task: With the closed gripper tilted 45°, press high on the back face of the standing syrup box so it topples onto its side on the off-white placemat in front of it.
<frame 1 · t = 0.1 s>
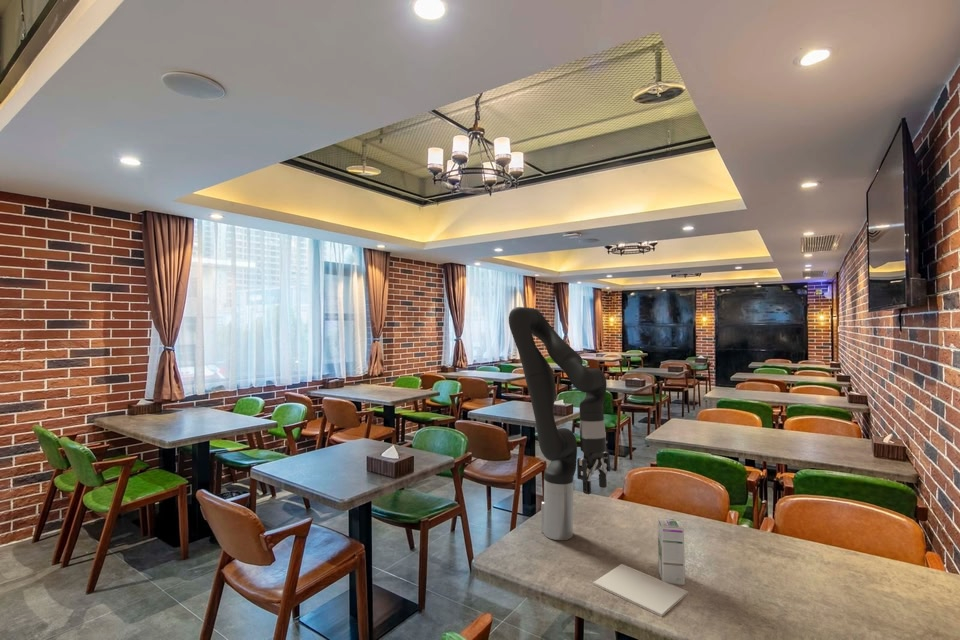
hand: (595, 490, 137), 17 cm above the table, tool pointing down, fingers open, 8 cm apart
syrup box: (670, 579, 121), on the table
placemat: (639, 589, 116), on the table
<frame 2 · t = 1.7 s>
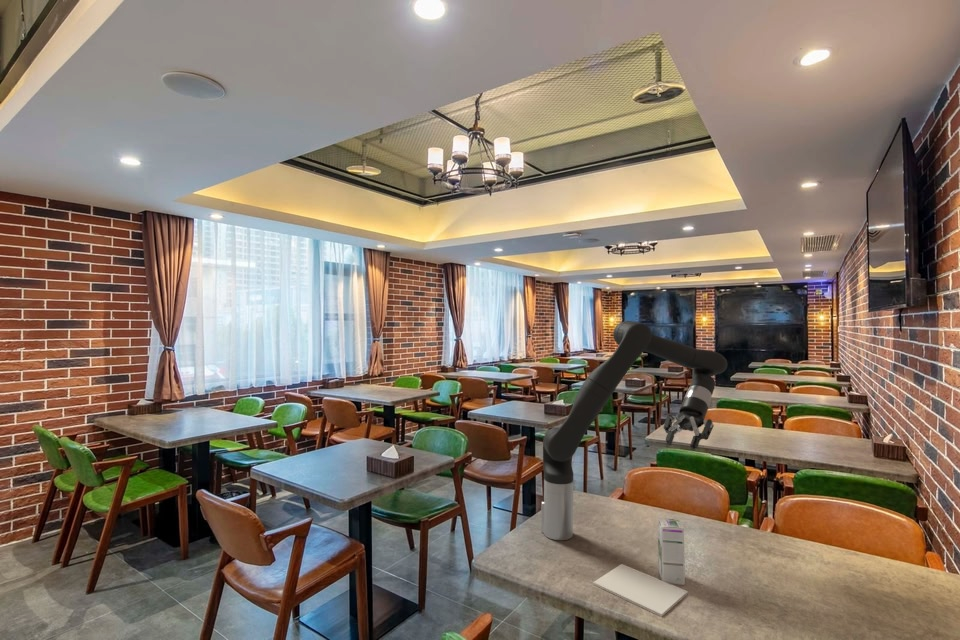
hand: (680, 445, 139), 31 cm above the table, tool tilted 45°, fingers open, 6 cm apart
nothing on the table moved.
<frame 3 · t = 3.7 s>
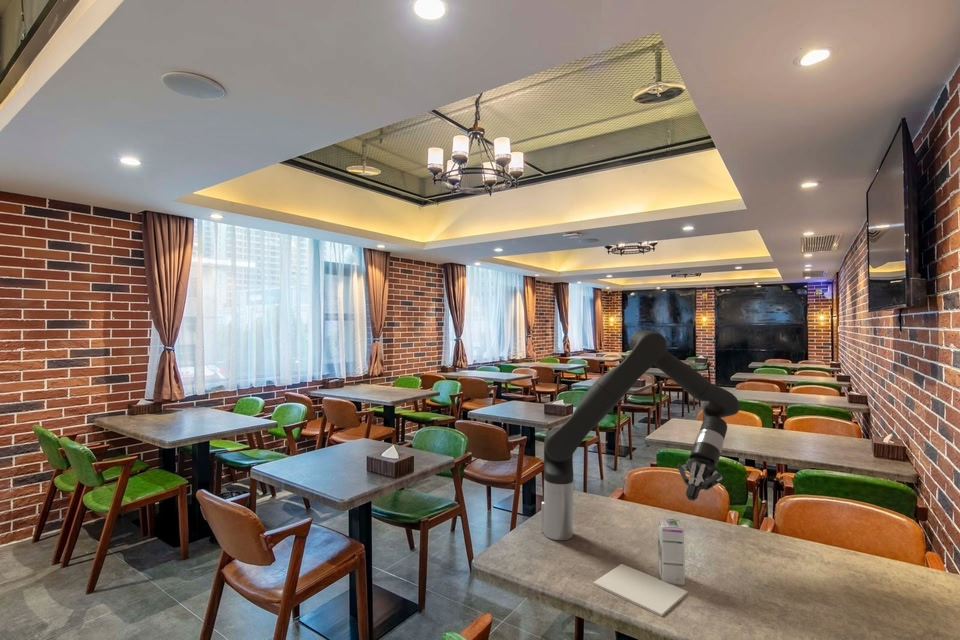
hand: (690, 498, 130), 18 cm above the table, tool tilted 45°, fingers closed
nothing on the table moved.
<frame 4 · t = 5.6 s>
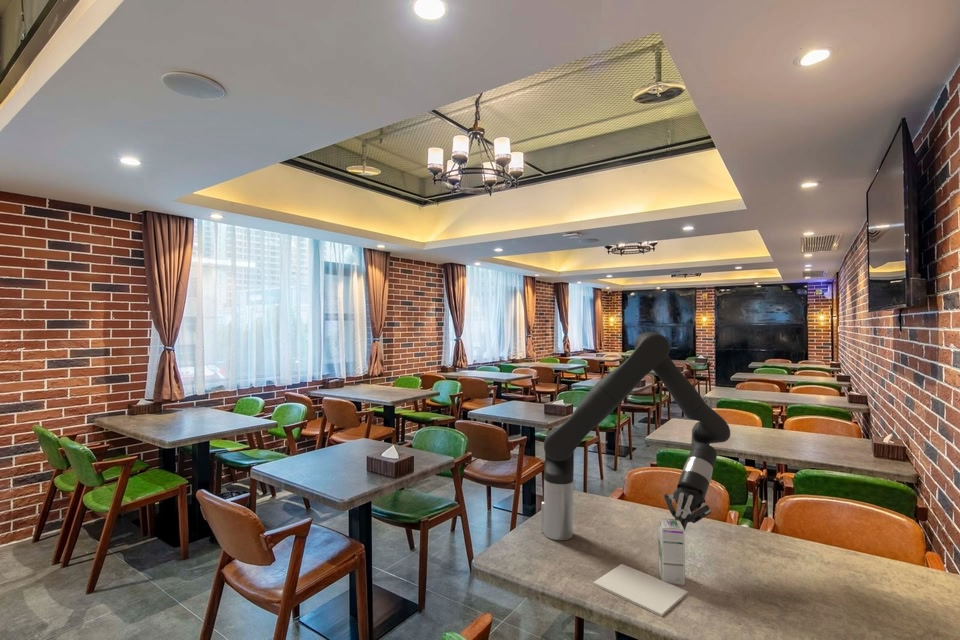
hand: (677, 532, 124), 11 cm above the table, tool tilted 45°, fingers closed
syrup box: (670, 578, 121), on the table, touching gripper
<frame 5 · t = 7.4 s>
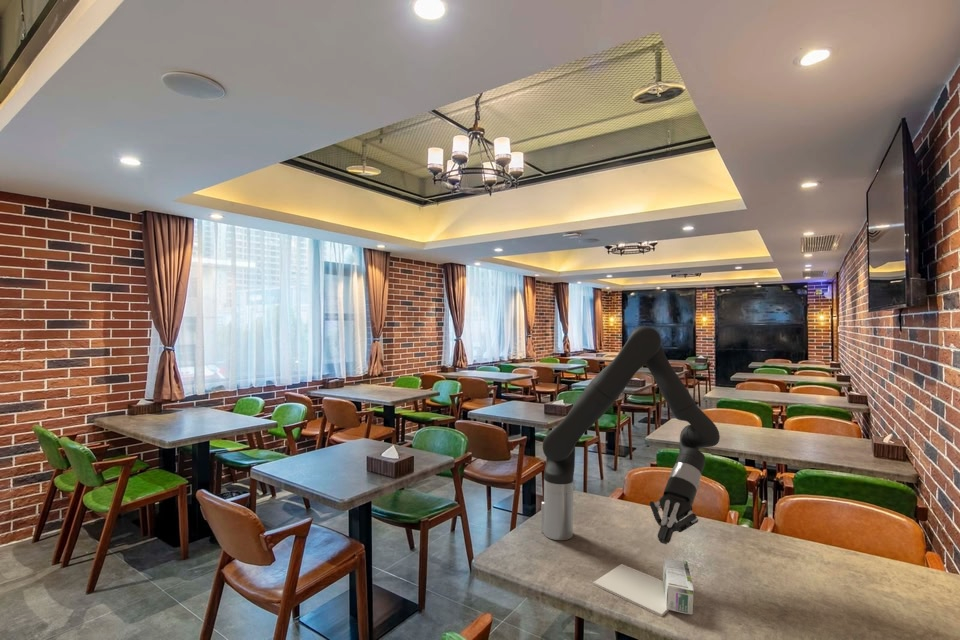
hand: (662, 542, 118), 11 cm above the table, tool tilted 45°, fingers closed
syrup box: (674, 569, 119), point 3 cm above the table, touching placemat
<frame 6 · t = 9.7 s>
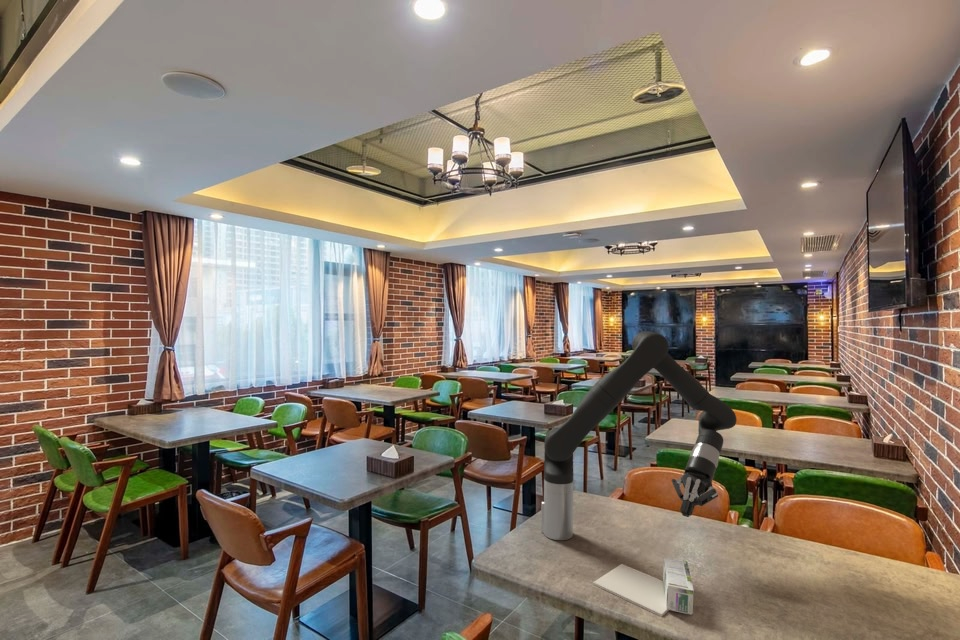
hand: (684, 515, 128), 14 cm above the table, tool tilted 45°, fingers closed
nothing on the table moved.
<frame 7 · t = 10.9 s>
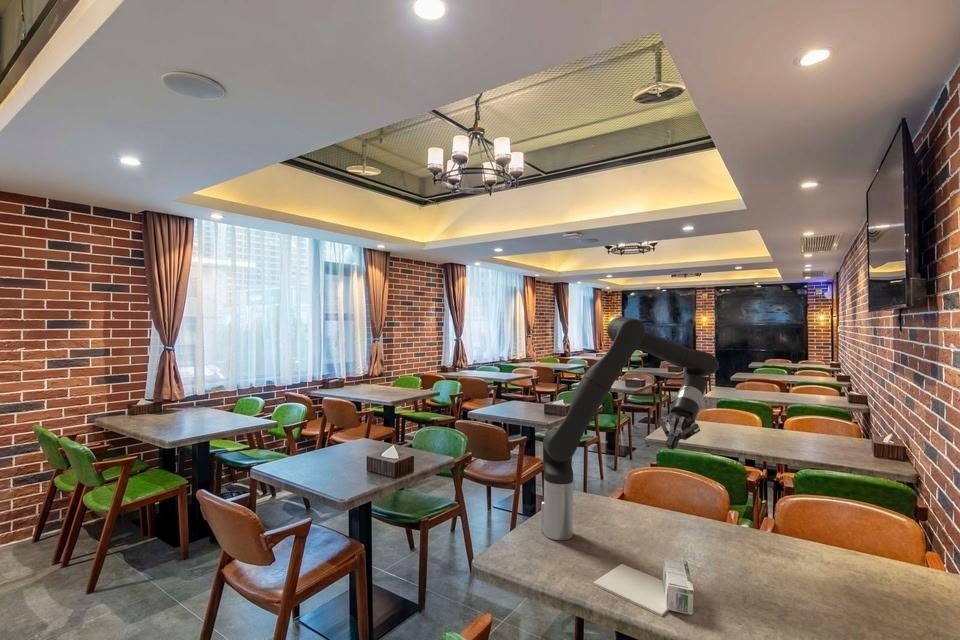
hand: (670, 447, 139), 30 cm above the table, tool tilted 45°, fingers closed
nothing on the table moved.
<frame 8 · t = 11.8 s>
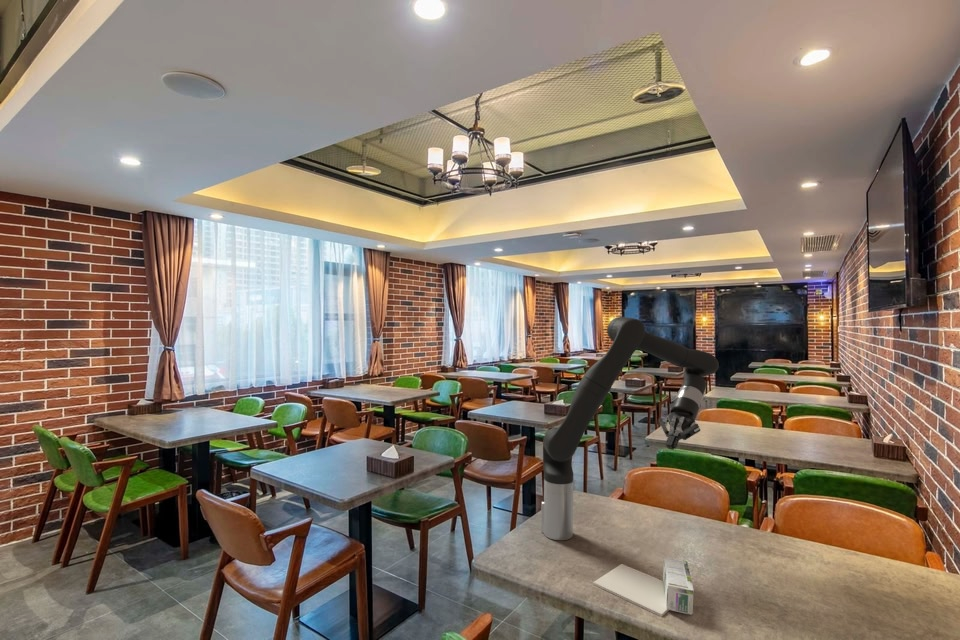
hand: (670, 447, 139), 30 cm above the table, tool tilted 45°, fingers closed
nothing on the table moved.
at the end: syrup box tilted 90°; syrup box touching placemat; the gripper is holding nothing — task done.
